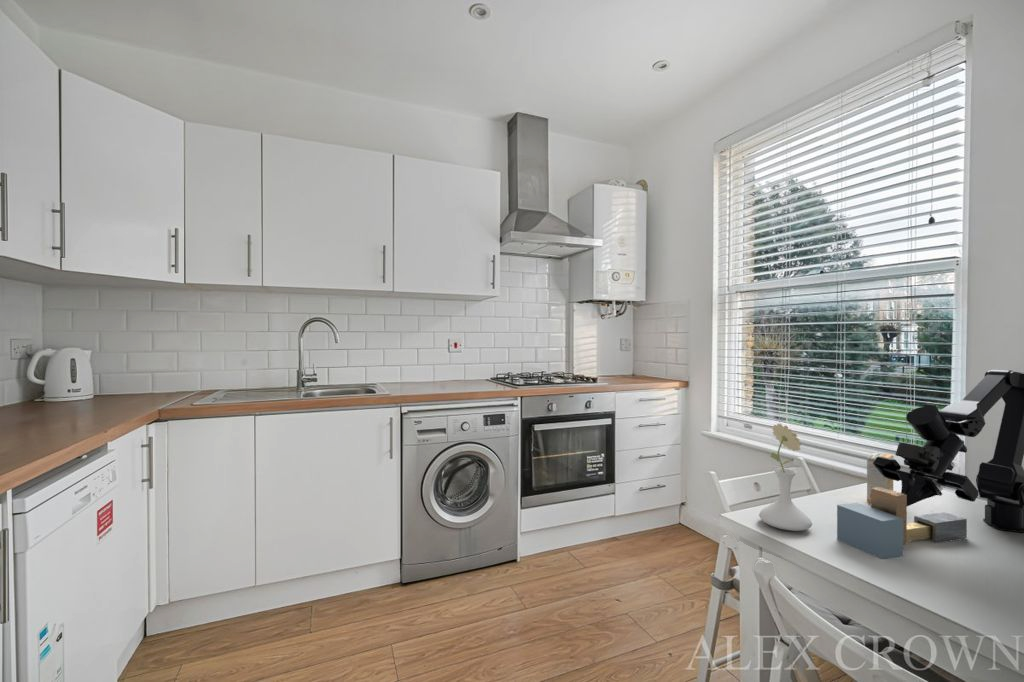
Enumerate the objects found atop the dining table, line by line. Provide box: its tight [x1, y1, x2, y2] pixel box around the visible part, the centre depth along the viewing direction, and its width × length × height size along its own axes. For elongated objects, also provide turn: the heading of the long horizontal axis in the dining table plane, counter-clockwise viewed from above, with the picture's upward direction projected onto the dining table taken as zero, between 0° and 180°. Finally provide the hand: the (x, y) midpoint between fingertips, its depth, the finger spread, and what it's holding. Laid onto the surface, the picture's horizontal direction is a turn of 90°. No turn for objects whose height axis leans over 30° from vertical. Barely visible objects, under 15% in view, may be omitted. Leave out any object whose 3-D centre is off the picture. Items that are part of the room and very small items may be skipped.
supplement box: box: [866, 452, 894, 503], centre depth 132 cm, size 8×5×13 cm, turn 130°
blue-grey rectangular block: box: [836, 502, 904, 560], centre depth 102 cm, size 6×10×8 cm, turn 15°
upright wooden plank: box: [870, 487, 933, 546], centre depth 104 cm, size 20×6×11 cm, turn 105°
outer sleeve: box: [913, 511, 968, 544], centre depth 107 cm, size 10×4×5 cm, turn 105°
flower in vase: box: [758, 423, 813, 532], centre depth 114 cm, size 13×11×25 cm
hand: (902, 505), depth 104 cm, fingers closed
